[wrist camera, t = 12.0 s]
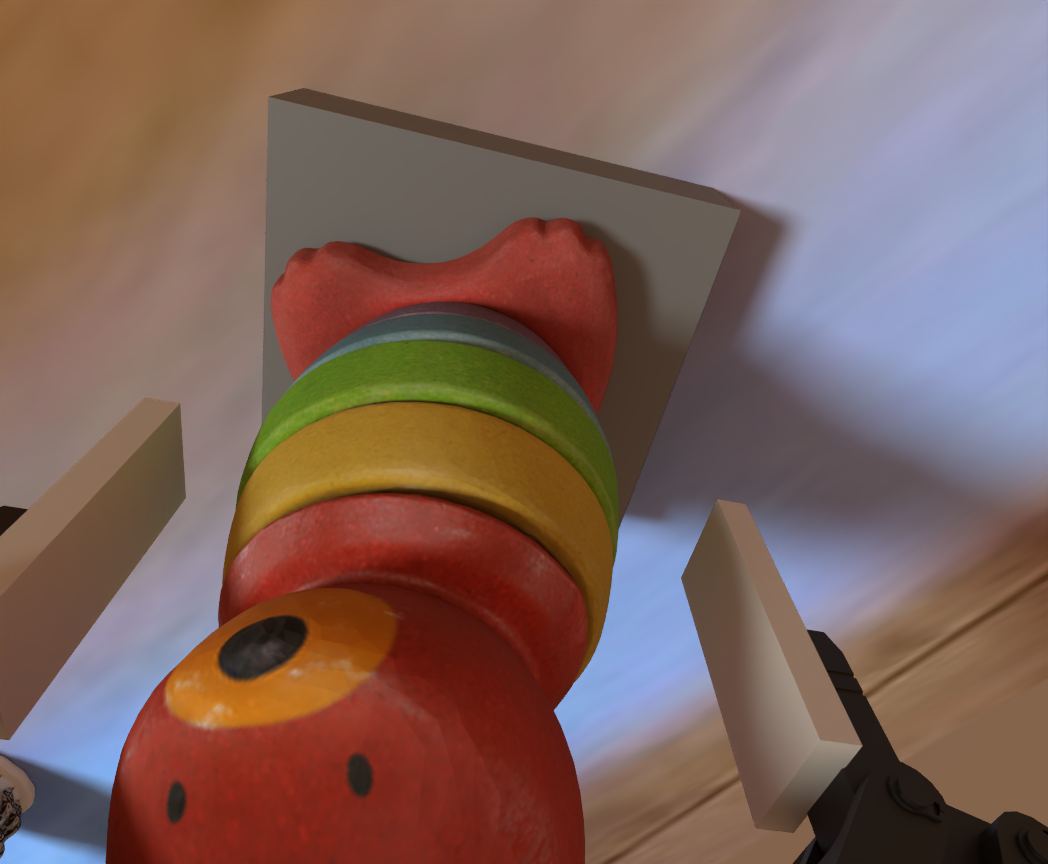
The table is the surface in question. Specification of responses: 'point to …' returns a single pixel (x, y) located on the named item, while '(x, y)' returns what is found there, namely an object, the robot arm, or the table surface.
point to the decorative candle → (13, 798)
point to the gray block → (496, 231)
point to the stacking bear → (401, 575)
